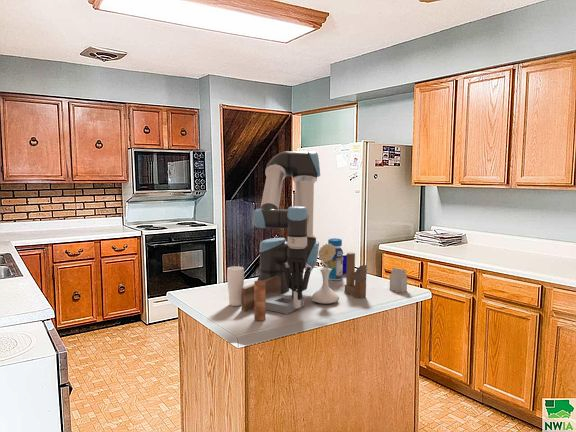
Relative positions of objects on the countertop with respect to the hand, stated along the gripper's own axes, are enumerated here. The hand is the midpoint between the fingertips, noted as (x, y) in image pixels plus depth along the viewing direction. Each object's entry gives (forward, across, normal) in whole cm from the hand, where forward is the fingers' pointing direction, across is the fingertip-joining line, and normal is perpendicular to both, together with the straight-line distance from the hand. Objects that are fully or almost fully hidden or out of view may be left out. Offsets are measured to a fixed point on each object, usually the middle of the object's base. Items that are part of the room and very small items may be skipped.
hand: (297, 307), depth 173 cm
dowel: (+1, -6, -16) cm, 17 cm away
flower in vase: (+2, +4, +16) cm, 17 cm away
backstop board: (+1, -17, 0) cm, 17 cm away
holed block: (+1, -8, 0) cm, 8 cm away
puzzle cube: (+2, -18, +67) cm, 69 cm away
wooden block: (+2, +9, +33) cm, 34 cm away
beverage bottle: (+2, -12, +54) cm, 55 cm away
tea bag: (+2, +22, +51) cm, 56 cm away
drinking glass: (+2, -25, -7) cm, 26 cm away
